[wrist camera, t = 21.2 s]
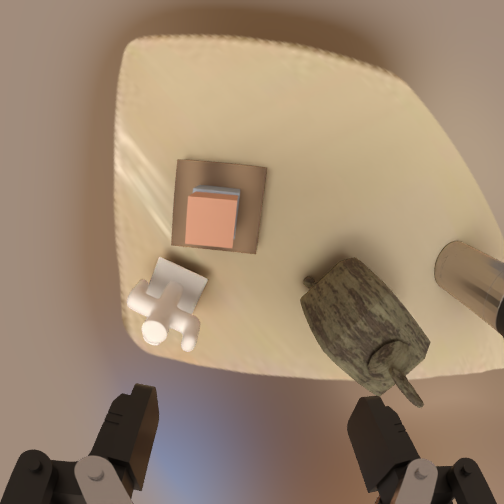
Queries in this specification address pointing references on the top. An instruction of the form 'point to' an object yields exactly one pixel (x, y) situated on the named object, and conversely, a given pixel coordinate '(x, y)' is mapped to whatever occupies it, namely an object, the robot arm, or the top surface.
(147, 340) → the figurine
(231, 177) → the plinth
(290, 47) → the top surface
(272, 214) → the top surface
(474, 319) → the top surface
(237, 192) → the blue block
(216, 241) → the terracotta block
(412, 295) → the top surface
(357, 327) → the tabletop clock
